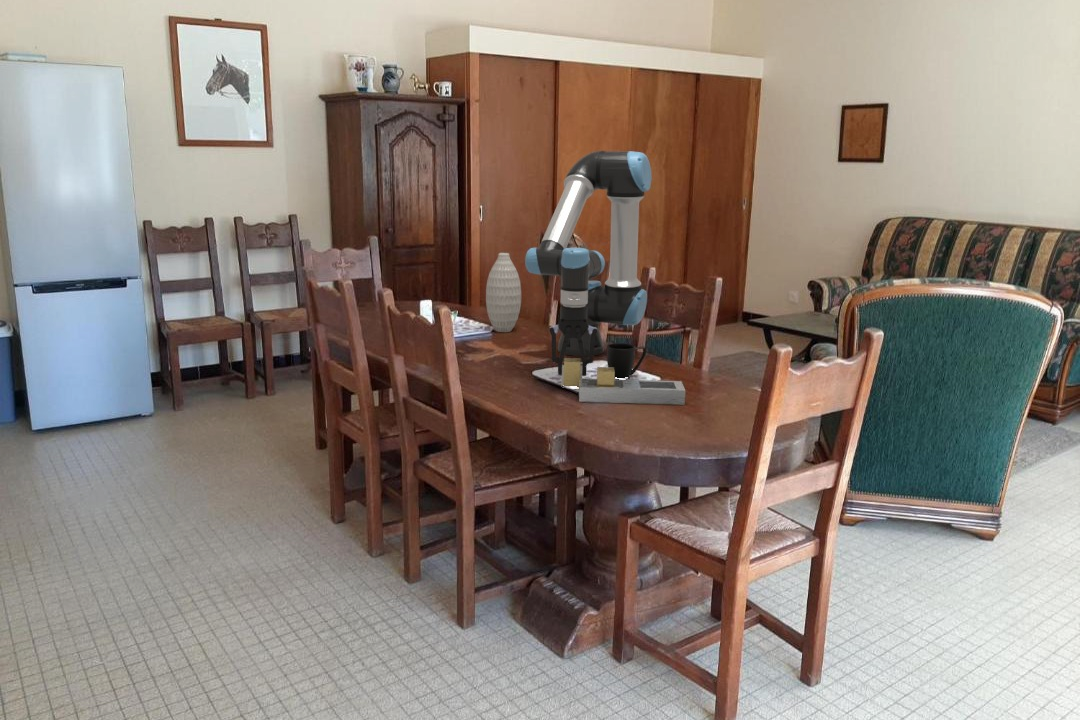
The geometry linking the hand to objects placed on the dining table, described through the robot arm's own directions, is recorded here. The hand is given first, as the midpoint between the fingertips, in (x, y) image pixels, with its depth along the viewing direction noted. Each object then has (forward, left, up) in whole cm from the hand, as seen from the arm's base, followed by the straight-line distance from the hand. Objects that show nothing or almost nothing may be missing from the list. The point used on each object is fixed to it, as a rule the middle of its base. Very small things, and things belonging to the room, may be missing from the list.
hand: (571, 386), depth 242 cm
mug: (-13, +16, -1) cm, 21 cm away
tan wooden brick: (+9, +9, 0) cm, 13 cm away
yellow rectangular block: (0, 0, 0) cm, 0 cm away
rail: (+9, +16, 0) cm, 18 cm away
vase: (-73, -25, -1) cm, 77 cm away
